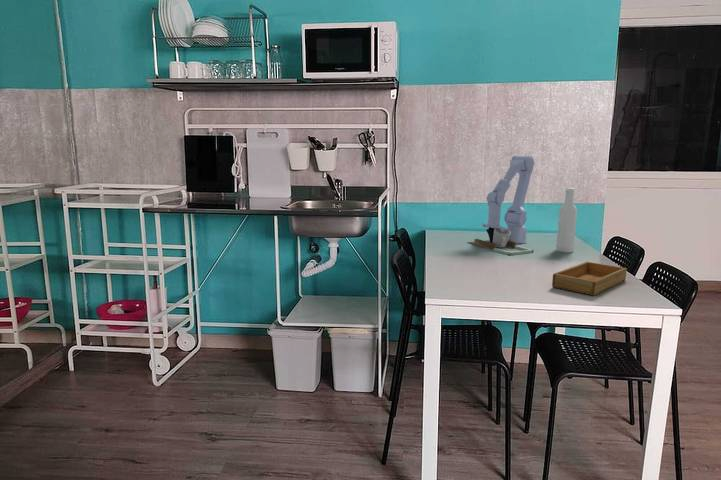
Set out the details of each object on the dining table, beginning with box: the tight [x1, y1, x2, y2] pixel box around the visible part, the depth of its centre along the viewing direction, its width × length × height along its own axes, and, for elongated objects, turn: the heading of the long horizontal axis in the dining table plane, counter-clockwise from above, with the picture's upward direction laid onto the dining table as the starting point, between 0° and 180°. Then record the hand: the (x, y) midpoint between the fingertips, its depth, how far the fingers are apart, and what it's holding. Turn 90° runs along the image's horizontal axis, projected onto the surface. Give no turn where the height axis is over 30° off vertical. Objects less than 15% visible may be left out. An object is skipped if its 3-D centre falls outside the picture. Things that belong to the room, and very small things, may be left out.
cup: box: [493, 227, 511, 249], centre depth 259 cm, size 11×8×8 cm
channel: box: [473, 238, 517, 251], centre depth 264 cm, size 14×14×3 cm
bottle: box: [555, 187, 578, 254], centre depth 253 cm, size 8×8×30 cm
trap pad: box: [467, 239, 490, 246], centre depth 273 cm, size 14×5×1 cm, turn 117°
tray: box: [551, 261, 628, 296], centre depth 198 cm, size 31×15×6 cm, turn 136°
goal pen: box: [493, 245, 534, 256], centre depth 253 cm, size 14×11×1 cm
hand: (492, 243), depth 266 cm, fingers closed
